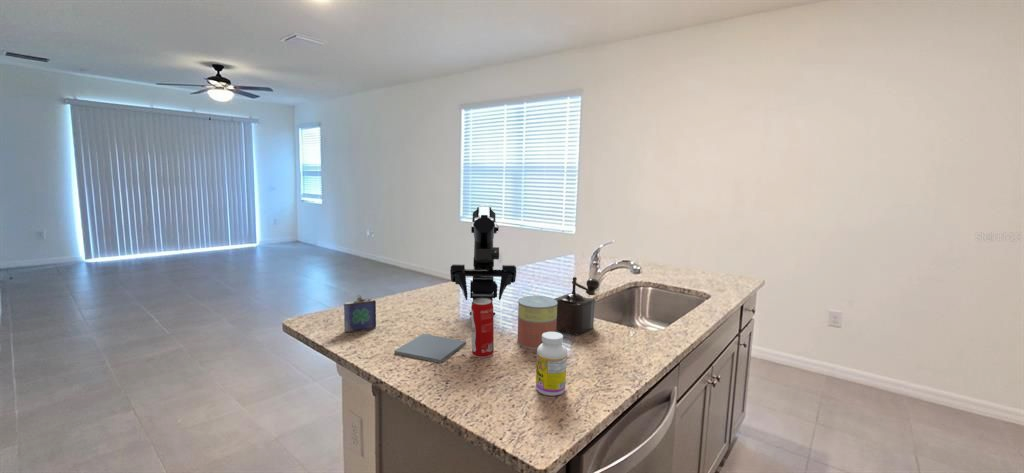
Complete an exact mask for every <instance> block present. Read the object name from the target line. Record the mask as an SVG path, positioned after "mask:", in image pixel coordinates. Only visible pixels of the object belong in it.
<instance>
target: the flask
mask: <svg viewBox="0 0 1024 473" xmlns="http://www.w3.org/2000/svg"><path fill="white" fill-rule="evenodd" d="M376 302H377V301H376V300H375V299H374V298H368V297H367V298H363V297H362V294H358V295H356V300H354V301H353V300H352V301H347V302H344V303H343V316H344V322H343V323H344V328H343V329H344V332H345V333H346V334H347V333H349V334H350V333H356V332H357V333H358V332H362V331H368V330H369V331H370V330H375V329H377V328H376V326H377V303H376Z"/></svg>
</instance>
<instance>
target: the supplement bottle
mask: <svg viewBox="0 0 1024 473" xmlns="http://www.w3.org/2000/svg"><path fill="white" fill-rule="evenodd" d="M563 341H564V335H563V334H562V332H561V333H560V332H559V331H556V332H545V333H543V334H542V342H543V343H542V344H540V345H539V347H538V349H536V370H535V388H536V391H537V392H538V393H540V394H542V395H544V396H549V397H550V396H551V397H552V396H553V397H555V396H560V395H562V394H564V392H565V390H566V385H567V384H566V381H567V380H566V379H567V361H568V358H567V357H568V350H567V348H566V347H565V345H563Z"/></svg>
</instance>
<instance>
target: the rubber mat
mask: <svg viewBox="0 0 1024 473" xmlns="http://www.w3.org/2000/svg"><path fill="white" fill-rule="evenodd" d="M466 344H467V340H460V339H457V338H451V337H444V336H439V335H433V334H427V333H422V334H420V335H418V336H417V337H415V338H413V339H412V340H410V341H409V342H406V343H404V345H403V344H402V346H400V347H398V348H397V349H395V350H394V355H399V356H403V357H404V356H405V357H410V358H414V359H420V360H425V361H430V362H433V363H439V364H441V363H442V362H444V361H446V360H447V359H448V358H450V356H452V355H453V354H454V353H456V352H458V351H459V350H460V349H461V348H462V347H464V346H465V345H466Z"/></svg>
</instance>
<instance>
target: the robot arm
mask: <svg viewBox="0 0 1024 473" xmlns="http://www.w3.org/2000/svg"><path fill="white" fill-rule="evenodd" d="M471 218H472V221H471V225H470V226H471V227H470V228H471V230H470V231H471V234H473V237H474V242H473V243H474V245H473V247H474V249H473V264H472V265H473V268H465V264H451V265H450V281H451V282H452V283H455V285H458V286H459V287H460V289H461V291H462V294H463V296H464V299H465V301H467V300H468V288H467V279H466V277H472V280H470V283H469V284H470V286H469V288H470V292H469V294H470V295H469V296H470V299H472V301H473V300H474V299H477V298H488V299H491V300H492V303H493V299H496V298H497V297H498V301H501V299H502V297H503V294H504V292H505V290H506V288H507V286H509V285H512V284H513V283H515V282H516V279H517V266H516V265H515V264H502V267H501V268H502V269H494V266H495V260H499V259H500V247H497V246H495V247H494V238H495V237H494V236H495V234H497V233H498V232H499V226H498V224H497V222H496V212H495V211H494V210H492V206H490V205H480V204H479V205H478V206H477V205H476V210H474V211H473V212H472V217H471ZM497 277H498V278H500V282H499V283H500V284H499V290H498V284H497V282H496V281H497V280H495V279H494V278H497ZM498 291H499V293H498ZM469 314H470V315H471V311H469ZM494 315H496V312H494V311H493V316H494Z"/></svg>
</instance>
